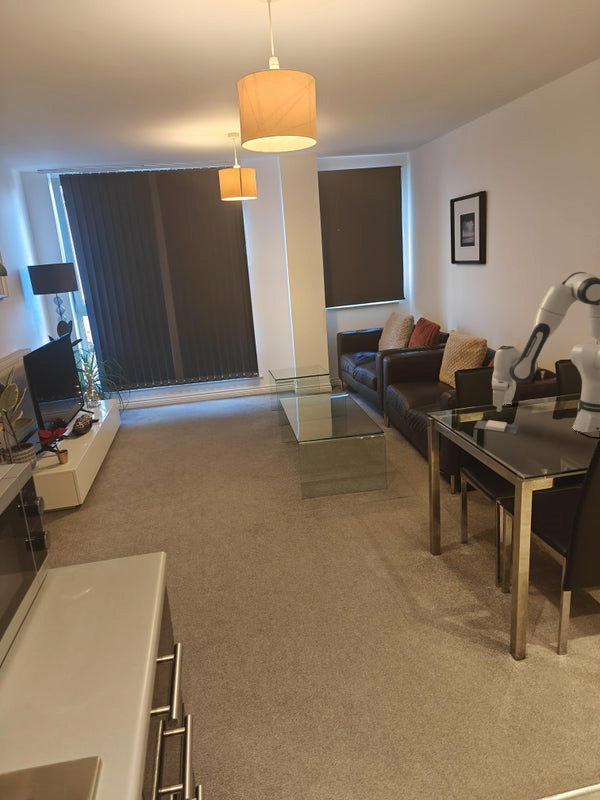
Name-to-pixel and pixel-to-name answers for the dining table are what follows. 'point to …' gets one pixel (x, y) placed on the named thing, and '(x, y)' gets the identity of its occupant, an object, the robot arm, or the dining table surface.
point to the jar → (510, 394)
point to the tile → (496, 425)
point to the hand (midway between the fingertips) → (499, 410)
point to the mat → (508, 429)
